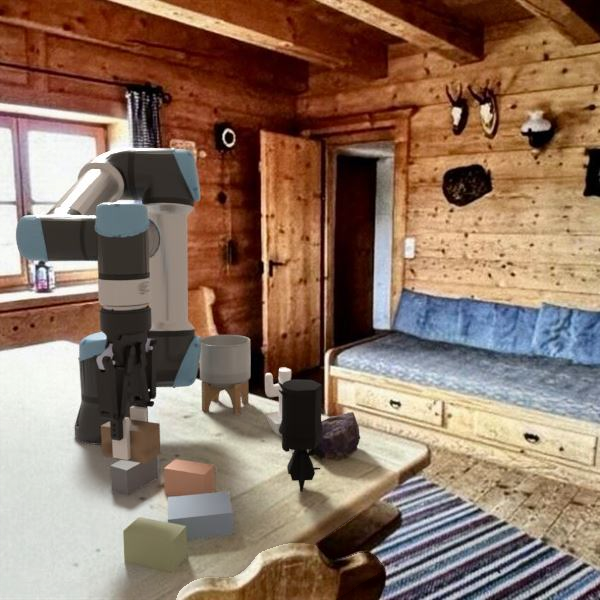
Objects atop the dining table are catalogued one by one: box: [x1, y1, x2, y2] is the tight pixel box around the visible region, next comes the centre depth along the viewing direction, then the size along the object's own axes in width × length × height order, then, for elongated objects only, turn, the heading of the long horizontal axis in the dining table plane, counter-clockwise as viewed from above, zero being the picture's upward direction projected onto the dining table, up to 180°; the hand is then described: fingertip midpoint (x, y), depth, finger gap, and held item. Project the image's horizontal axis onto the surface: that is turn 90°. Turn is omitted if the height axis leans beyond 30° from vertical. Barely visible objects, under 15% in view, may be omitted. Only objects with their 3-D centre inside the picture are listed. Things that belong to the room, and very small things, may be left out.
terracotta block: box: [163, 458, 216, 497], centre depth 103 cm, size 8×4×5 cm, turn 72°
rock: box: [308, 411, 361, 461], centre depth 118 cm, size 12×9×10 cm
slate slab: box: [167, 490, 234, 541], centre depth 92 cm, size 10×7×4 cm
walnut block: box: [101, 419, 161, 464], centre depth 89 cm, size 8×4×5 cm, turn 71°
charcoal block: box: [109, 455, 159, 497], centre depth 105 cm, size 8×4×5 cm, turn 152°
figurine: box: [263, 366, 292, 437], centre depth 130 cm, size 7×9×15 cm
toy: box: [276, 379, 327, 493], centre depth 103 cm, size 8×9×20 cm
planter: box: [199, 334, 252, 415], centre depth 146 cm, size 13×13×18 cm
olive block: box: [122, 516, 188, 574], centre depth 83 cm, size 8×4×5 cm, turn 72°
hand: (131, 451), depth 89 cm, fingers closed on walnut block, 4 cm apart
